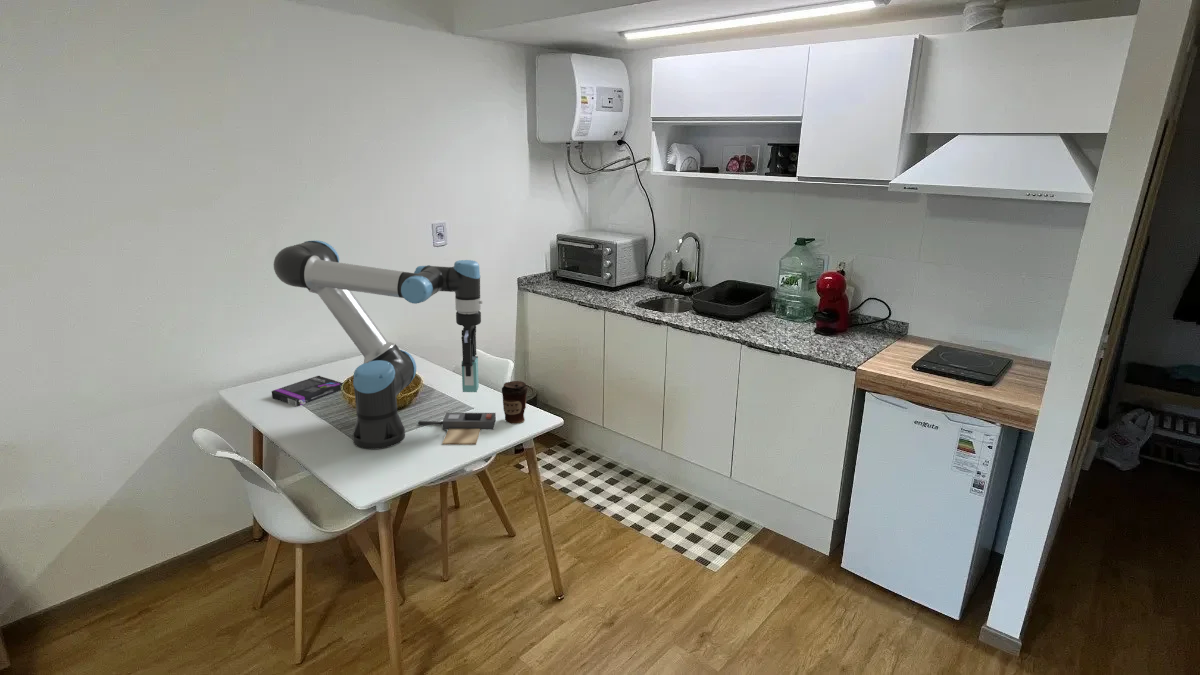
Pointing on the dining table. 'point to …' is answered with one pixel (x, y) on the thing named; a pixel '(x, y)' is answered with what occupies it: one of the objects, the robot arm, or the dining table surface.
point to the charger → (475, 374)
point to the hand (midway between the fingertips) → (470, 381)
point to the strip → (465, 421)
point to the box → (306, 390)
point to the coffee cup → (514, 401)
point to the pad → (462, 436)
